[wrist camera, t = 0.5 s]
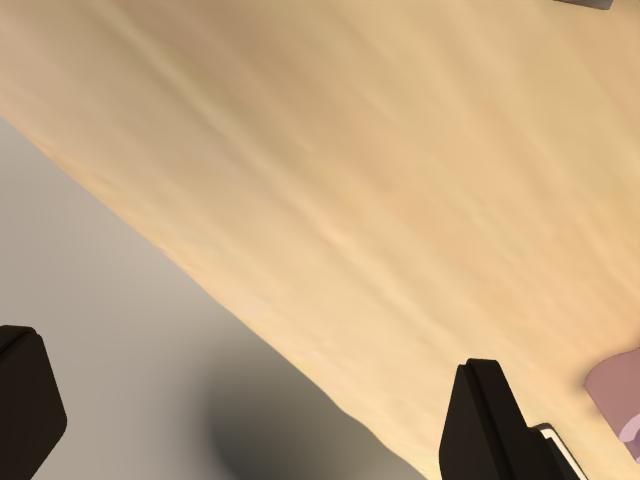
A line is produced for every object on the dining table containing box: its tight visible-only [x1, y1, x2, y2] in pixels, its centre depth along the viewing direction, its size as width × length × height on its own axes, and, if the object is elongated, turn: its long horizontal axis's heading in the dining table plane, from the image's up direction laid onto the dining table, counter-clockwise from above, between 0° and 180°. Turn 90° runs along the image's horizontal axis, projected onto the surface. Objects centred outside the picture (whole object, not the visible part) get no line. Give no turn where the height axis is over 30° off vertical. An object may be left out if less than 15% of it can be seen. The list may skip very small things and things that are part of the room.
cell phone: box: [534, 423, 588, 480], centre depth 52 cm, size 8×15×1 cm, turn 36°
